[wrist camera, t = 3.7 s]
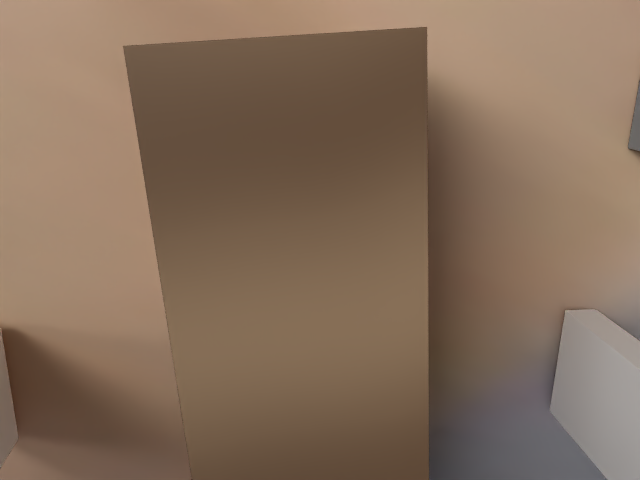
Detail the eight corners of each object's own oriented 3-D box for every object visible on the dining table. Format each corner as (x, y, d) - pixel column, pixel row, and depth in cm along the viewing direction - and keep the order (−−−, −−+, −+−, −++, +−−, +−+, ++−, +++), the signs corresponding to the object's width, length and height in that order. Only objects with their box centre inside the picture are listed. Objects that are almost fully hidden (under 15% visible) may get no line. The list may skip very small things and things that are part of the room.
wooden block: (377, 578, 16) (430, 800, 11) (249, 596, 16) (247, 833, 11) (355, 39, 12) (426, 27, 7) (178, 50, 11) (123, 46, 6)
